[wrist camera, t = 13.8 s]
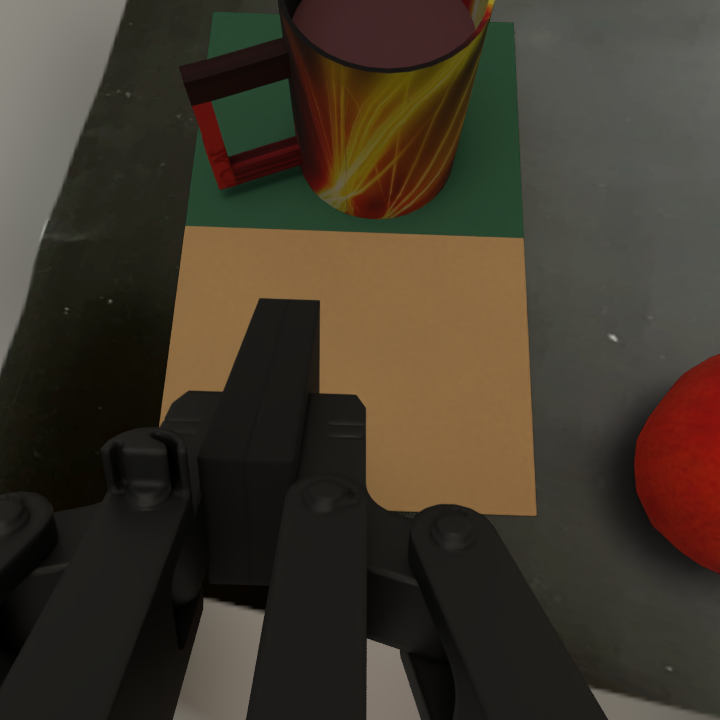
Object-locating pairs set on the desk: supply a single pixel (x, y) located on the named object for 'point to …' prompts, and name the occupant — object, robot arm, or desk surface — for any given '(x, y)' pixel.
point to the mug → (355, 98)
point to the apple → (684, 464)
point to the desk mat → (378, 291)
